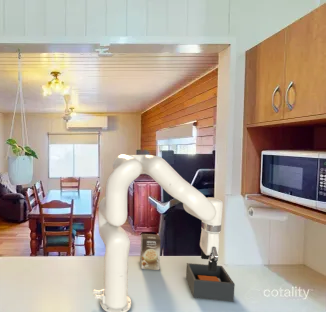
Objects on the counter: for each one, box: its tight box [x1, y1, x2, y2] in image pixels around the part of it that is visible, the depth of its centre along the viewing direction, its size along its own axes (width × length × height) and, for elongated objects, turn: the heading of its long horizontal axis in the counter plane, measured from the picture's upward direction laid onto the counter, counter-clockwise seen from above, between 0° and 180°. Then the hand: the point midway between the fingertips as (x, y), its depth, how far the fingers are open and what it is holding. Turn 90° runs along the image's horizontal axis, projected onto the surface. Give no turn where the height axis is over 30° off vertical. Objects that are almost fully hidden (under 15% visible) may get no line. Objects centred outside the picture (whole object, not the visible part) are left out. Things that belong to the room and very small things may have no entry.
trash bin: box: [185, 262, 236, 303], centre depth 107 cm, size 16×14×8 cm
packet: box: [198, 275, 221, 282], centre depth 107 cm, size 9×5×4 cm, turn 81°
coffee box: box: [139, 233, 162, 271], centre depth 125 cm, size 9×6×16 cm
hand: (208, 264), depth 106 cm, fingers open, 9 cm apart
